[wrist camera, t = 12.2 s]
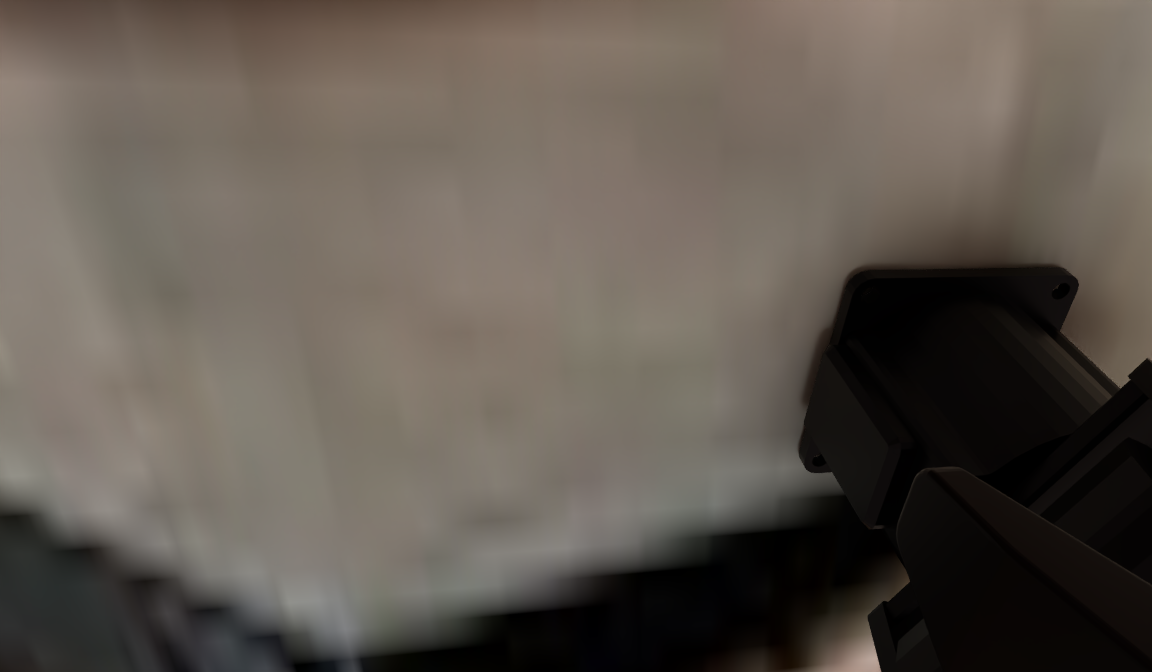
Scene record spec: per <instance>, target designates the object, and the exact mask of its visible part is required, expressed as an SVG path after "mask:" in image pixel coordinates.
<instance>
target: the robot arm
mask: <svg viewBox="0 0 1152 672" xmlns="http://www.w3.org/2000/svg"><path fill="white" fill-rule="evenodd" d="M1059 284H1060V285H1059ZM1058 285H1059V286H1058ZM1056 286H1058V288H1056V289H1055V290H1054V288H1055V287H1056ZM1078 286H1079V284H1078V280H1077V279H1076V278H1075V277H1074V276H1073V275H1072V274H1071V273H1069V272H1068V271H1067V270H1066V269H1064V268H1059V267H1053V268H988V269H923V270H868V271H863V272H860V273H858V274H856V275H855V276H854V277H853V278H852V279H851V280H850V281H849V282H848V284H847V286H846V289H845V292H844V296H843V299H842V303H841V306H840V310H839V313H838V317H837V320H836V324H835V327H834V331H833V334H832V338H831V341H830V345H829V347H828V348H827V349H826V351H825V352H824V353H823V356H822V359H821V363H820V367H819V370H818V374H817V377H816V381H815V384H814V388H813V391H812V395H811V399H810V402H809V406H808V409H807V413H806V416H805V420H804V425H805V427H806V429H805V433H804V436H803V440H802V444H801V447H800V451H799V457H800V459H801V461H802V463H803V465H804V466H805V468H806V470H808V471H809V472H812V473H825V472H832V473H833V474H834V476H835V478H836V479H837V481H838V483H839V484H840V486H841V488H842V490H843V491H844V493H845V495H846V496H847V498H848V500H849V501H850V503H851V505H852V506H853V508H854V510H855V512H856V513H857V515H858V517H859V518H860V520H861V521H862V522H863V523H864V524H865V525H866V526H867V527H868V528H869V529H881V530H882V531H883V533H884V535H885V536H886V538H887V539H888V541H889V543H890V544H891V546H892V548H893V549H894V551H895V553H896V554H897V556H898V558H899V559H900V561H901V562H902V564H903V566H904V567H905V569H906V571H907V574H908V576H909V579H910V582H909V583H908V584H907V585H906V586H905V587H904V588H903V589H902V590H901V591H900V592H899V593H897V594H896V595H895V596H894V597H893V598H892V599H891V600H890V601H889V602H887V601H883V602H882V603H881V604H880V605H878V606H877V607H876V608H875V609H874V610H873V611H872V612H871V613H870V614H869V615H868V621H869V625H870V629H871V633H872V637H873V641H874V645H875V649H876V653H877V657H878V661H879V665H880V669H881V672H1152V361H1151V360H1150V359H1148V358H1147V359H1146V360H1145V361H1144V362H1142V363H1141V364H1140V365H1139V366H1138V367H1137V368H1136V369H1135V370H1134V371H1133V372H1132V373H1131V374H1129V375H1128V377H1129V378H1130V379H1131V380H1130V381H1129V382H1127V383H1126V384H1125V385H1124V386H1123V387H1122V388H1121V389H1120V388H1119V387H1118V386H1117V385H1116V384H1115V383H1114V382H1113V381H1112V380H1111V379H1110V378H1108V377H1107V376H1106V375H1105V374H1104V373H1103V372H1102V371H1101V370H1100V369H1099V368H1098V367H1097V366H1096V365H1095V364H1094V363H1093V362H1092V361H1090V360H1089V359H1088V358H1087V357H1086V356H1085V355H1084V354H1083V353H1082V352H1081V351H1080V350H1079V349H1078V348H1077V347H1076V346H1075V345H1074V344H1072V343H1071V342H1070V341H1069V340H1068V339H1067V338H1066V337H1065V336H1064V335H1063V334H1062V333H1061V332H1060V329H1061V327H1062V325H1063V323H1064V320H1065V318H1066V316H1067V313H1068V311H1069V309H1070V307H1071V304H1072V302H1073V300H1074V298H1075V295H1076V293H1077V290H1078ZM869 287H873V288H872V290H871V291H870V292H869V293H868V294H866V295H862V293H863V291H864V290H866V289H867V288H869ZM1053 290H1054V291H1053ZM861 295H862V296H861ZM820 453H821V454H820ZM818 454H820V455H819V456H817V457H815V456H816V455H818Z"/></svg>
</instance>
